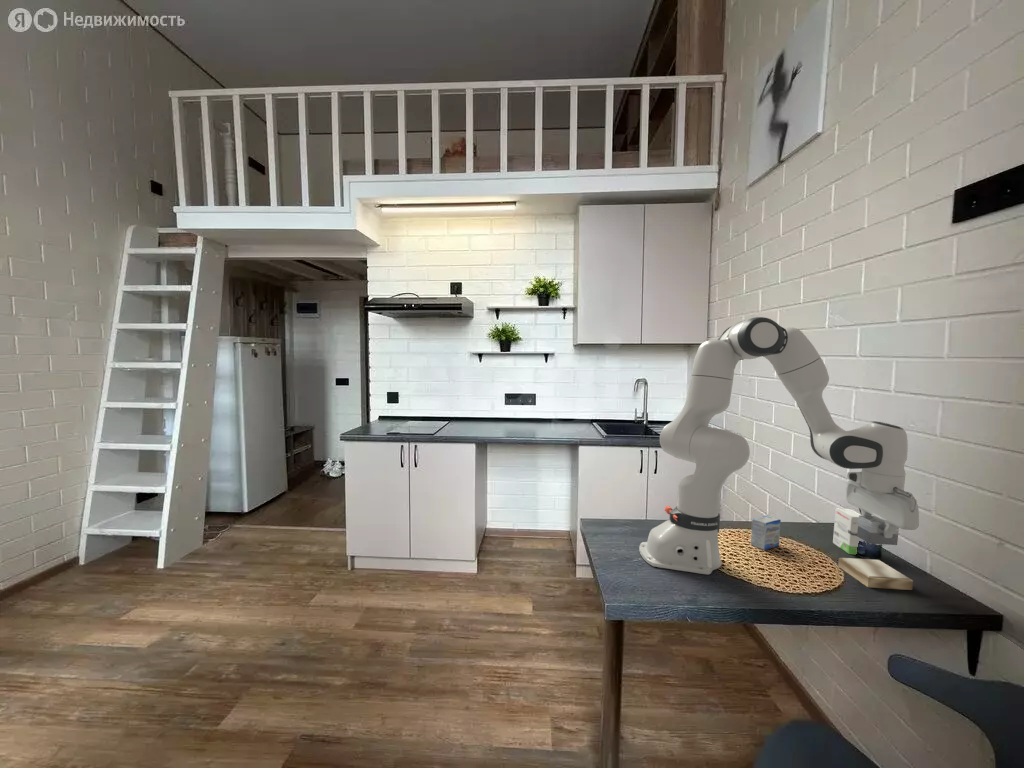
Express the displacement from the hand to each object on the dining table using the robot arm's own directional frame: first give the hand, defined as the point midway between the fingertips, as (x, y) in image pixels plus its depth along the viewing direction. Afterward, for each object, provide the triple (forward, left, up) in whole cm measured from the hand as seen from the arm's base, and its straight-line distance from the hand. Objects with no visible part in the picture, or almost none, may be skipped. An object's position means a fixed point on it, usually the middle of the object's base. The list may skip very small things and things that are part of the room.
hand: (877, 532), depth 115 cm
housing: (0, 0, -2) cm, 2 cm away
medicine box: (-20, +17, -13) cm, 29 cm away
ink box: (+6, +18, -13) cm, 23 cm away
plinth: (0, 0, -13) cm, 13 cm away
